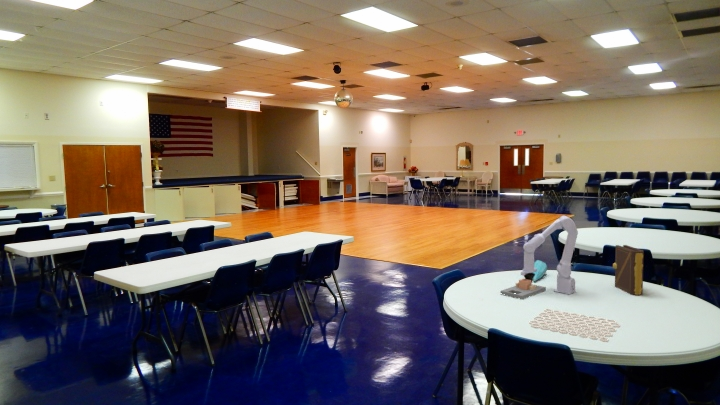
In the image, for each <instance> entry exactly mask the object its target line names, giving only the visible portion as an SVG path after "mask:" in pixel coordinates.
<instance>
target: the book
mask: <svg viewBox="0 0 720 405" xmlns="http://www.w3.org/2000/svg"><path fill="white" fill-rule="evenodd" d="M614 252H615V256H614V257H615V258H614V263H612V268H613V269H614V287H615V288H617V289H619V290H621V291H623V292H625V293H626V294H628V295H631V296H643V292H644V291H643V289H644V283H643V282H644V256H645V254H644V252H645V251H644V250H643V249H640V248H636V247H633V246H630V245H627V244H623V245H622V246H621V245H620V244H615V251H614Z"/></svg>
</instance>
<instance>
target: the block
mask: <svg viewBox="0 0 720 405" xmlns="http://www.w3.org/2000/svg"><path fill="white" fill-rule="evenodd" d="M518 282H519V289H524V290H528V289H530V286H531V280H528V279H525V278H521V279H519V280H518Z"/></svg>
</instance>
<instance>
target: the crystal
mask: <svg viewBox="0 0 720 405" xmlns="http://www.w3.org/2000/svg"><path fill="white" fill-rule="evenodd" d="M534 268H537V272H533V273H535V276H534V278H533V280H532V281H533V282H536V281H537V280H539V279H541V278H542V277H543V276H544V275H545V273H547V271H548V265H547V264H546V262H544V261H542V260H539V259H537V260H535V261H534Z"/></svg>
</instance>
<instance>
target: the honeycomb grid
mask: <svg viewBox="0 0 720 405" xmlns="http://www.w3.org/2000/svg"><path fill="white" fill-rule="evenodd" d="M543 311H544V312H540V313H539V314H538V315H539V316H535V317H533V319H534V320H529V321H528V322H529V324H530V327H532V328H534V329H540V330H544V331H550V332H553V333H554V332H555V333H558V332H559V333H561V334H564V335H565V334H566V335H567V334H568V335H571V336H579V337H581V338H589V339H591V340H594V341H595V340H596V341H597V340H599V341H601V342H604V343H606V342H607V343H608V342H609V341H610V340H609V339H610V337H613V335H614V334H613V333H614V332H615V333H616V332H617V328H620V326H621V324H619V322H618V321H616V320H614V319H606V318H604V317H596V316H591V315H590V316H588V315H585V314H578V313H570V312H568V311H560V310H558V309H557V310H553V309H551V308H544V310H543ZM607 337H609V338H607Z"/></svg>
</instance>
